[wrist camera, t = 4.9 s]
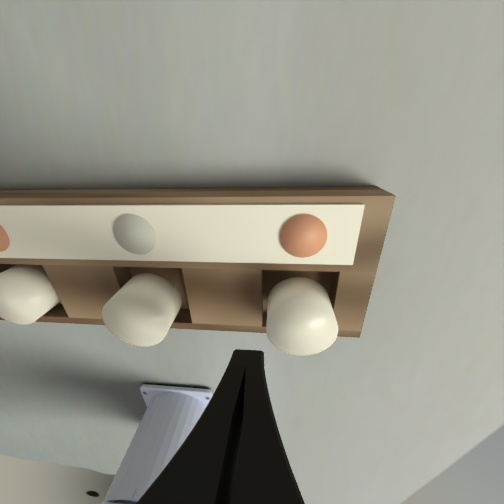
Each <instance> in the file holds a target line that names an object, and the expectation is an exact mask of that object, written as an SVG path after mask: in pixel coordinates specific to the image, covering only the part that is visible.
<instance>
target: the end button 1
mask: <svg viewBox="0 0 504 504" xmlns="http://www.w3.org/2000/svg"><path fill="white" fill-rule="evenodd" d="M59 302H60V299H59V297H58V295H57V293H56V291H55V289H54V287H53V285H52V284H51V282H50V280H49V278H48V276H47V274H46V272H45V270H44V268H43V266H42V265H30V264H17V265H15V266H13V267H11V268H9V269H7V270H5V271H3V272H1V273H0V317H1V318H3V319H5V320H7V321H10V322H12V323H16V324H22V325H26V324H31V323H33V322H35V321H36V320H37V319H39V318H40V317H41V316H42V315H44V314H45V313H46V312H48V311H49V310H50V309H51V308H53V307H54V306H55V305H57V304H58V303H59Z"/></svg>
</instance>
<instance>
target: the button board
mask: <svg viewBox="0 0 504 504" xmlns="http://www.w3.org/2000/svg"><path fill="white" fill-rule="evenodd" d="M395 197H396V196H395V195H393V194H391V193H389V192H387V191H385V190H383V189H381V188H379V187H377V186H342V187H249V188H156V189H62V190H0V205H156V204H365V207H364V212H363V217H362V222H361V227H360V232H359V237H358V242H357V247H356V252H355V257H354V262H353V265H325V264H276V263H227V262H179V261H130V260H82V259H33V258H0V273H1V272H3V271H5V270H7V269H9V268H11V267H13V266H15V265H17V264H30V265H42V266H43V268H44V270H45V272H46V274H47V276H48V278H49V280H50V282H51V284H52V285H53V287H54V289H55V291H56V293H57V295H58V297H59V299H60V302H59V303H58V304H57V305H55V306H54V307H53V308H51V309H50V310H49V311H48V312H46V313H45V314H44V315H42V316H41V317H40V318H39V319H37V320H36V321H35V322H56V323H76V324H96V325H105V323H104V321H103V319H102V309H103V306H104V305H105V304H106V303H107V302H108V301H109V300H110V299H111V298H112V297H113V296H114V295H115V294H116V293H117V292H118V291H119V290H120V289H121V288H122V287H123V286H124V285H125V284H126V283H127V282H128V281H129V280H130V279H131V278H132V277H133V276H135V275H138V274H142V273H151V274H156V275H159V276H161V277H163V278H165V279H167V280H168V281H170V282H171V283H172V284H173V285H174V286H175V287H176V288H177V290H178V291H179V293H180V296H181V300H182V304H181V308H180V310H179V312H178V314H177V316H176V317H175V319H174V321H173V323H172V325H171V327H170V328H178V329H198V330H218V331H239V332H259V333H267V332H266V324H267V303H268V296H269V293H270V291H271V290H272V288H273V287H274V286H275V285H276V284H278V283H279V282H281V281H283V280H286V279H289V278H294V277H304V278H309V279H312V280H314V281H316V282H318V283H319V284H321V285H322V286H323V287H324V288H325V290H326V291H327V293H328V296H329V299H330V302H331V305H332V308H333V311H334V314H335V318H336V321H337V324H338V335H337V336H340V337H360V334H361V330H362V326H363V322H364V318H365V314H366V310H367V306H368V302H369V298H370V294H371V291H372V287H373V283H374V279H375V275H376V271H377V267H378V263H379V259H380V255H381V251H382V247H383V244H384V240H385V236H386V232H387V228H388V224H389V220H390V216H391V212H392V208H393V204H394V200H395ZM0 320H5V319H3V318H1V317H0Z"/></svg>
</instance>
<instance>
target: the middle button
mask: <svg viewBox="0 0 504 504" xmlns="http://www.w3.org/2000/svg"><path fill="white" fill-rule="evenodd" d="M181 304H182V300H181V296H180V293H179V291H178V290H177V288H176V287H175V286H174V285H173V284H172V283H171V282H170V281H168V280H167V279H165V278H163V277H161V276H159V275H156V274H151V273H142V274H138V275H135V276H133V277H132V278H131V279H130V280H129V281H128V282H127V283H126V284H125V285H124V286H123V287H122V288H121V289H120V290H119V291H118V292H117V293H116V294H115V295H114V296H113V297H112V298H111V299H110V300H109V301H108V302H107V303H106V304H105V305H104V306H103V309H102V319H103V321H104V323H105V325H106V327H107V328H108V329H109V331H110V332H111V333H112V334H114V335H115V336H116V337H117V338H119V339H121V340H122V341H124V342H127V343H129V344H132V345H136V346H152V345H156V344H158V343H160V342H161V341H162V340H163V339H164V337H165V336H166V334H167V332H168V330H169V328H170V327H171V325H172V323H173V321H174V319H175V317H176V316H177V314H178V312H179V310H180V308H181Z"/></svg>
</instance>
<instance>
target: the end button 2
mask: <svg viewBox="0 0 504 504" xmlns="http://www.w3.org/2000/svg"><path fill="white" fill-rule="evenodd" d="M266 332H267V336H268V338H269V340H270V342H271V343H272V344H273V345H274V346H275V347H276V348H278V349H279V350H281V351H283V352H286V353H289V354H293V355H312V354H316V353H319V352H321V351H323V350H325V349H327V348H328V347H329V346H331V345H332V343H333V342H334V341H335V340H336V337H337V335H338V324H337V321H336V318H335V314H334V311H333V308H332V305H331V302H330V299H329V296H328V293H327V291H326V290H325V288H324V287H323V286H322V285H321V284H319V283H318V282H316V281H314V280H312V279H309V278H304V277H294V278H289V279H286V280H283V281H281V282H279V283H278V284H276V285H275V286H274V287H273V288H272V290H271V291H270V293H269V296H268V303H267V324H266Z"/></svg>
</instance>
